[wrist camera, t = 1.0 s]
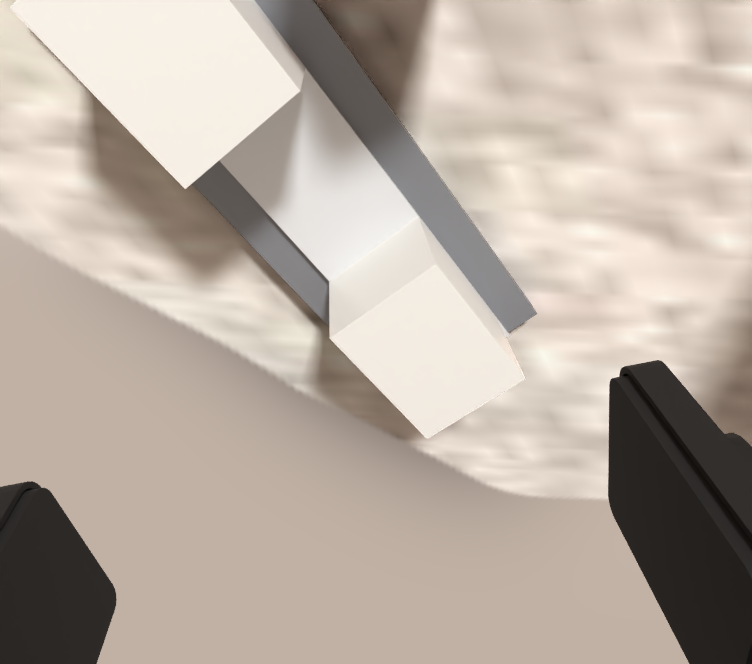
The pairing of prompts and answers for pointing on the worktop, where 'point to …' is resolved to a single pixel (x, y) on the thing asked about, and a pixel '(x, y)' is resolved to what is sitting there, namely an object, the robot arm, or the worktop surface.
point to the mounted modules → (232, 125)
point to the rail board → (342, 178)
